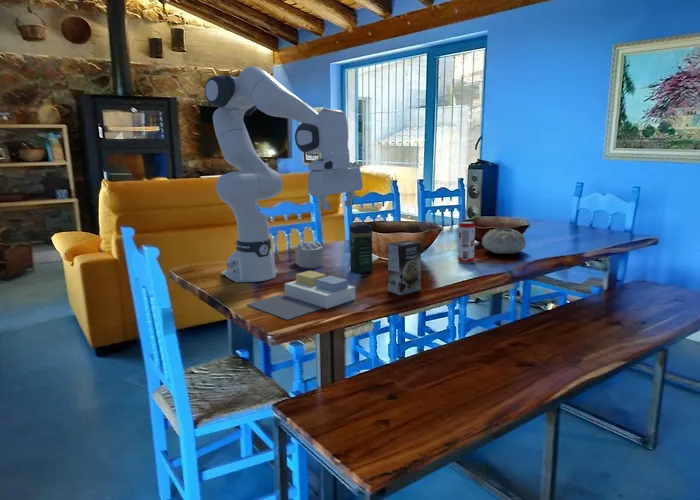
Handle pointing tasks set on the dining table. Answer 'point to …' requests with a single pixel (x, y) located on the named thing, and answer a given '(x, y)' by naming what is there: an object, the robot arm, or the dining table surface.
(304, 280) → the olive yellow block
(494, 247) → the grey rounded lump
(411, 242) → the coffee box
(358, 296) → the dining table surface
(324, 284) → the blue-grey rectangular block
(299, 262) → the lumpy-topped squat cylinder
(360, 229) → the coffee jar
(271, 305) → the mat
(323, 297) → the block
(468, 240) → the beer can
